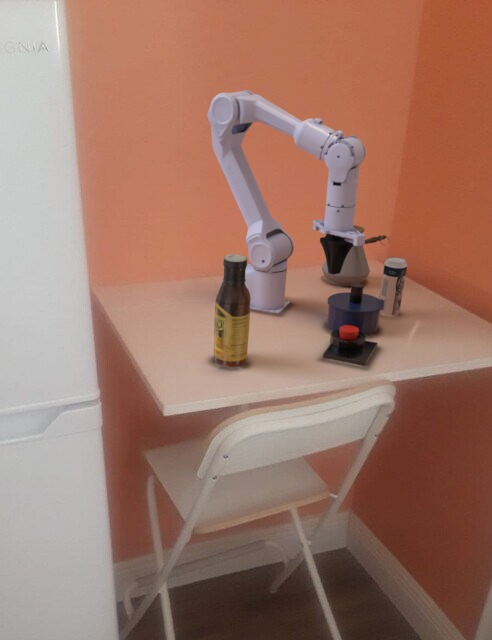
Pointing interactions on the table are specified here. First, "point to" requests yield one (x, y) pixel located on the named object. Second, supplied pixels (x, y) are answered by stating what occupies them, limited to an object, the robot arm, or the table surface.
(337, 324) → the pot
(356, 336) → the button
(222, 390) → the table surface
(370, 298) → the lid
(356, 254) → the coffee pot
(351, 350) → the control block
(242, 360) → the sauce bottle
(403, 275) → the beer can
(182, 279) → the table surface
